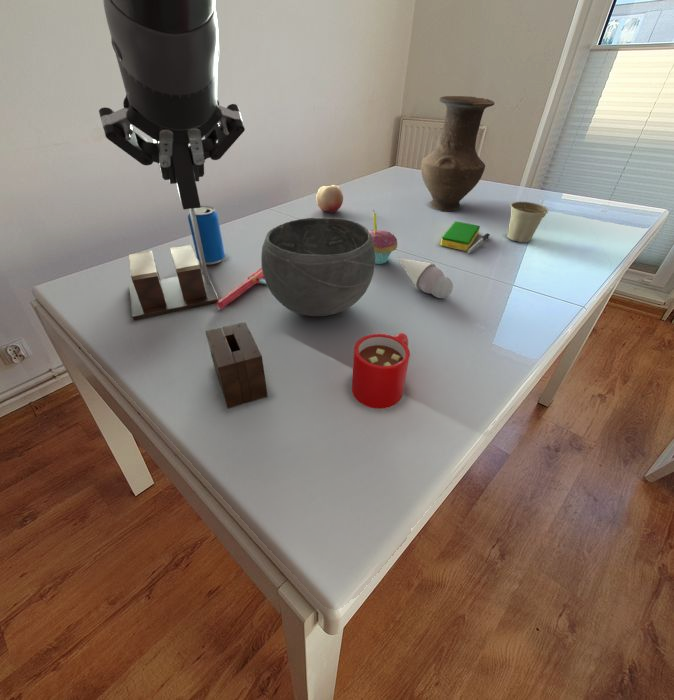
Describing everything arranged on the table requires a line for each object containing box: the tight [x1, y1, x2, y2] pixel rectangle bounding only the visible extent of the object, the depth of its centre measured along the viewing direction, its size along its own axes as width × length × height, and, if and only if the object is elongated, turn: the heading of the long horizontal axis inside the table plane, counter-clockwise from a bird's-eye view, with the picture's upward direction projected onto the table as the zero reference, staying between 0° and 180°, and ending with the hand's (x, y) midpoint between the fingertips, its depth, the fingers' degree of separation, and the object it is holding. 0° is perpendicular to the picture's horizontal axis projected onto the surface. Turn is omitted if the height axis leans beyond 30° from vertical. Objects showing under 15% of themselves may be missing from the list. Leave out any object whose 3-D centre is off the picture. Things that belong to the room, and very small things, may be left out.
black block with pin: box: [171, 143, 210, 285], centre depth 47 cm, size 2×3×17 cm, turn 25°
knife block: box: [205, 321, 268, 410], centre depth 56 cm, size 6×9×8 cm, turn 25°
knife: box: [467, 233, 490, 254], centre depth 99 cm, size 15×1×2 cm, turn 143°
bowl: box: [260, 217, 376, 317], centre depth 72 cm, size 21×21×15 cm
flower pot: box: [506, 201, 550, 243], centre depth 103 cm, size 9×9×9 cm
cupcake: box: [369, 209, 398, 265], centre depth 90 cm, size 9×8×12 cm
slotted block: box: [128, 244, 220, 322], centre depth 76 cm, size 16×13×8 cm
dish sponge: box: [440, 221, 481, 252], centre depth 103 cm, size 7×14×2 cm, turn 152°
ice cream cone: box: [397, 257, 454, 299], centre depth 81 cm, size 6×6×15 cm
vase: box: [420, 95, 495, 212], centre depth 116 cm, size 19×19×30 cm
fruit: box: [315, 184, 344, 213], centre depth 117 cm, size 8×8×8 cm
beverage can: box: [187, 205, 226, 265], centre depth 88 cm, size 6×6×12 cm
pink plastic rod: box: [216, 267, 267, 311], centre depth 82 cm, size 24×2×5 cm
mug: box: [351, 332, 411, 410], centre depth 57 cm, size 8×12×8 cm, turn 146°
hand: (182, 175), depth 45 cm, fingers closed on black block with pin, 2 cm apart
